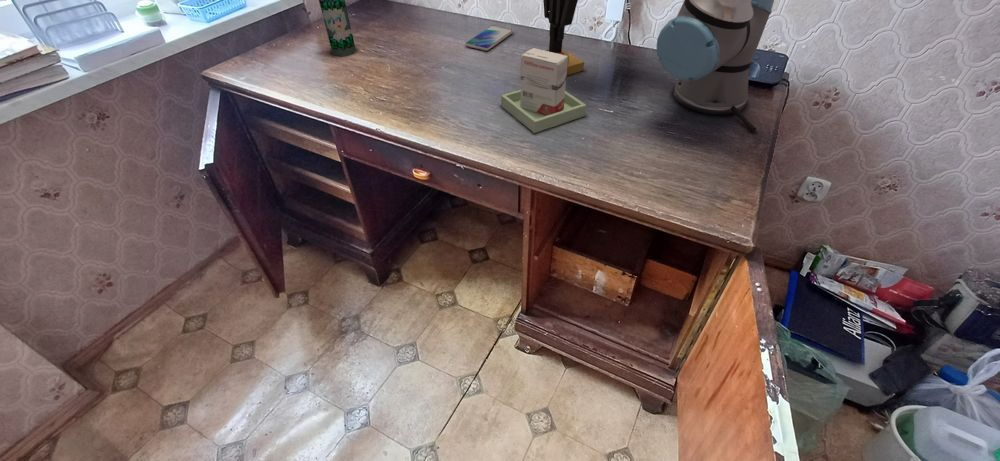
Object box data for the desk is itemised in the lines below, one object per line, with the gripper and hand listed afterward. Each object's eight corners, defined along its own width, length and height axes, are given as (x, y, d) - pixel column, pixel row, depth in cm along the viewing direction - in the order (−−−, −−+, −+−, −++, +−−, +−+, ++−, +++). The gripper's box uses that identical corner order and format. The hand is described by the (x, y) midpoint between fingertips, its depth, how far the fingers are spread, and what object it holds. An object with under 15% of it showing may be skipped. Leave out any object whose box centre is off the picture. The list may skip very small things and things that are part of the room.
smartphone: (513, 30, 133) (487, 48, 123) (513, 33, 133) (487, 52, 124) (491, 25, 135) (464, 43, 126) (491, 28, 136) (464, 46, 126)
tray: (585, 116, 100) (586, 104, 98) (534, 133, 95) (534, 121, 93) (549, 91, 108) (550, 80, 106) (501, 106, 103) (500, 95, 101)
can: (333, 57, 122) (317, -5, 112) (331, 48, 126) (316, -12, 116) (356, 53, 123) (343, -7, 113) (354, 45, 128) (341, -15, 117)
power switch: (583, 70, 115) (585, 54, 113) (543, 82, 111) (544, 66, 108) (563, 59, 120) (565, 43, 118) (525, 69, 116) (525, 53, 113)
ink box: (565, 108, 101) (570, 55, 92) (554, 118, 98) (559, 64, 89) (530, 98, 104) (532, 45, 96) (518, 107, 101) (520, 54, 93)
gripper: (598, -57, 94) (584, 58, 110) (560, -69, 102) (552, 39, 118) (568, -52, 91) (558, 65, 107) (531, -65, 99) (527, 46, 115)
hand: (555, 52), depth 113 cm, fingers closed
